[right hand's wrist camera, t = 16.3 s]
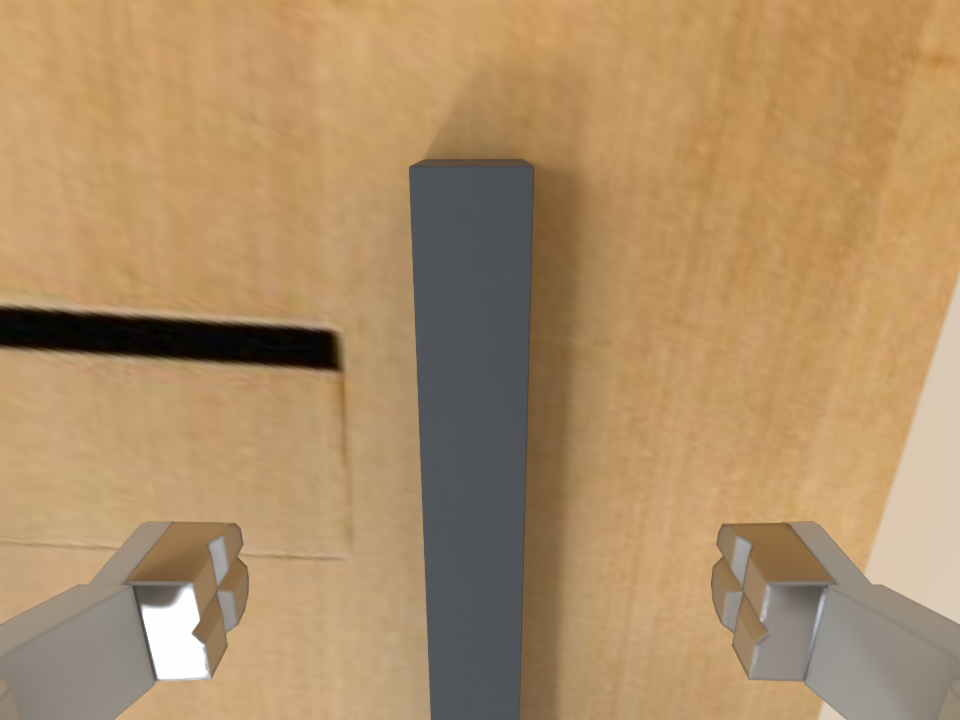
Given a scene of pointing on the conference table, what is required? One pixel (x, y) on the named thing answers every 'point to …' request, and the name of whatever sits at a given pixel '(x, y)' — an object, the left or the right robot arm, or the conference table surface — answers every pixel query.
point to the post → (473, 424)
